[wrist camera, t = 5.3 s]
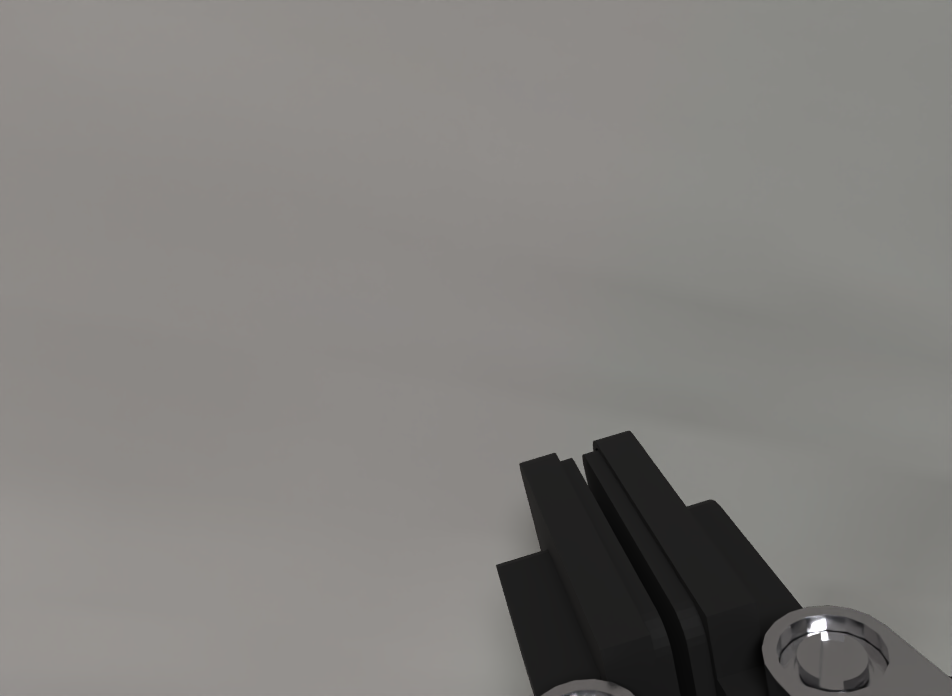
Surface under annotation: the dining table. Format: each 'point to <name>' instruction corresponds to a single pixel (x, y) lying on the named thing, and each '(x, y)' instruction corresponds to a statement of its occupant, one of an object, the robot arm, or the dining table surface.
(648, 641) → the robot arm
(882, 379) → the dining table surface
